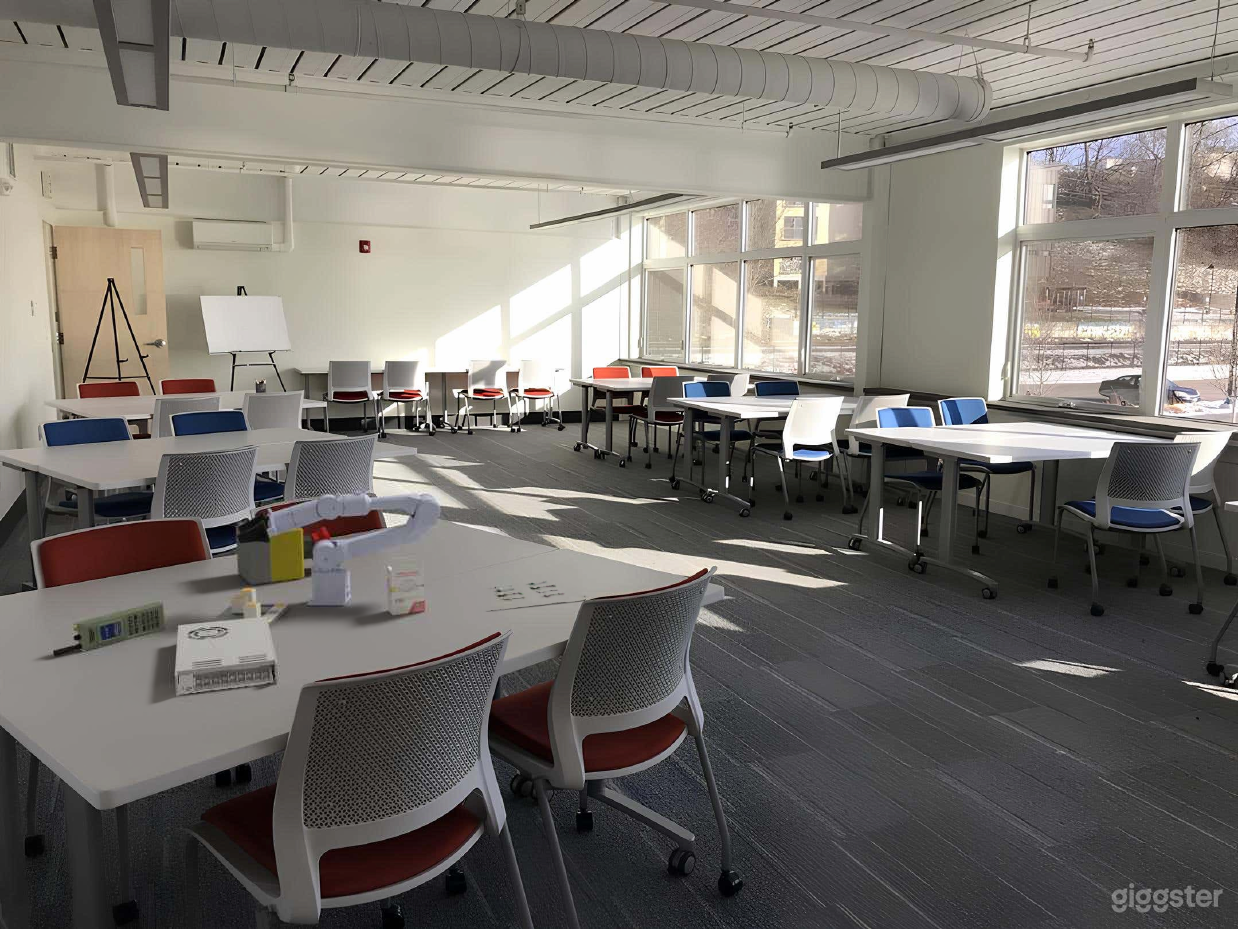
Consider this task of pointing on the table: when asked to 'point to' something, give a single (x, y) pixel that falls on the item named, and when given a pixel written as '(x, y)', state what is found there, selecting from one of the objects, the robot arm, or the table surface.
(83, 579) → the table surface
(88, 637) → the handheld radio
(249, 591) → the switch far
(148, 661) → the table surface
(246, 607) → the switch near
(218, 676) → the power supply unit
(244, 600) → the switch mid
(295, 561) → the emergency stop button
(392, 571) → the ink cartridge box
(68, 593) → the table surface
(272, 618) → the switch unit
